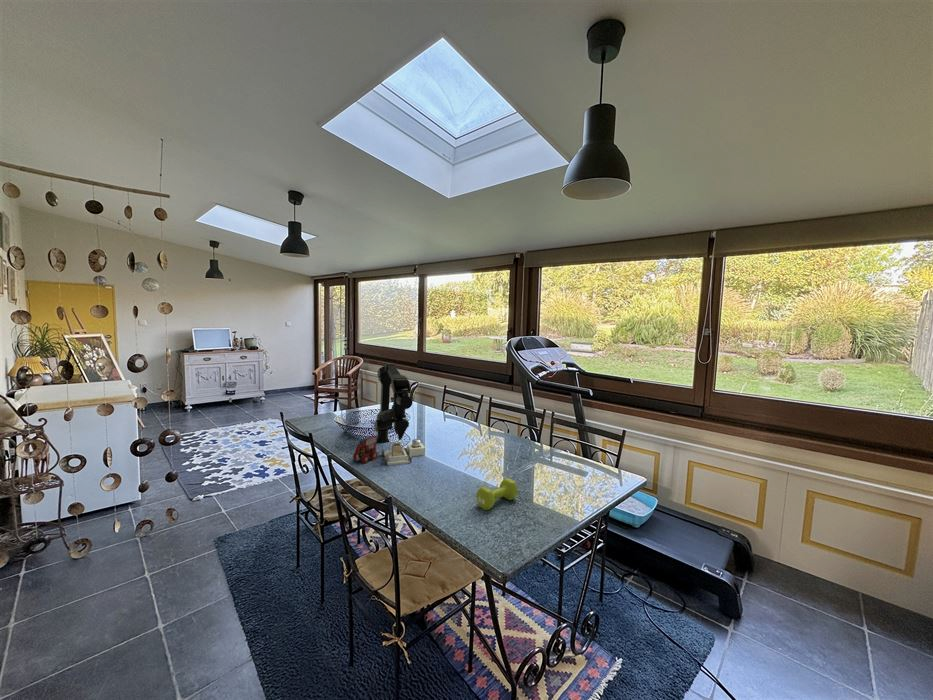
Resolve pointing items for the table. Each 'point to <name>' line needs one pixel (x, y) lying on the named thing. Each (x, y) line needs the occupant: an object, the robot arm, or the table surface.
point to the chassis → (396, 458)
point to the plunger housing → (416, 450)
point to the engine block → (397, 449)
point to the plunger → (415, 443)
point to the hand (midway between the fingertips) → (398, 436)
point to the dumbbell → (496, 493)
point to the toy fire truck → (366, 450)
